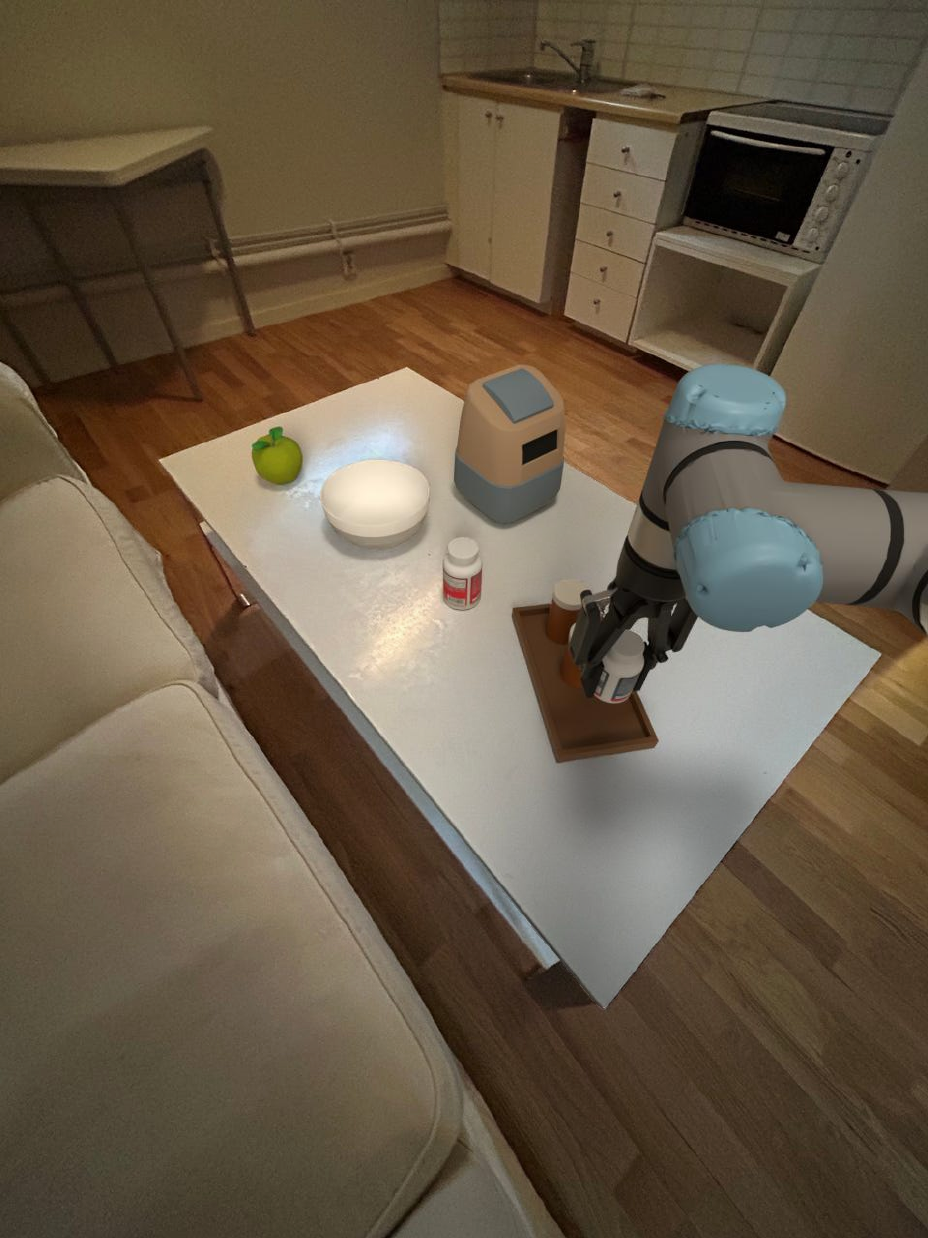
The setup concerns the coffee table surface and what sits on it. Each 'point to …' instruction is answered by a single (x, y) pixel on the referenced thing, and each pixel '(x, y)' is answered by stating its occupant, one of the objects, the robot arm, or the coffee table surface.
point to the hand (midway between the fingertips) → (609, 685)
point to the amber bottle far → (564, 609)
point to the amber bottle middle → (570, 667)
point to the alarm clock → (510, 443)
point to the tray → (576, 700)
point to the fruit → (277, 457)
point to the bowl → (376, 502)
